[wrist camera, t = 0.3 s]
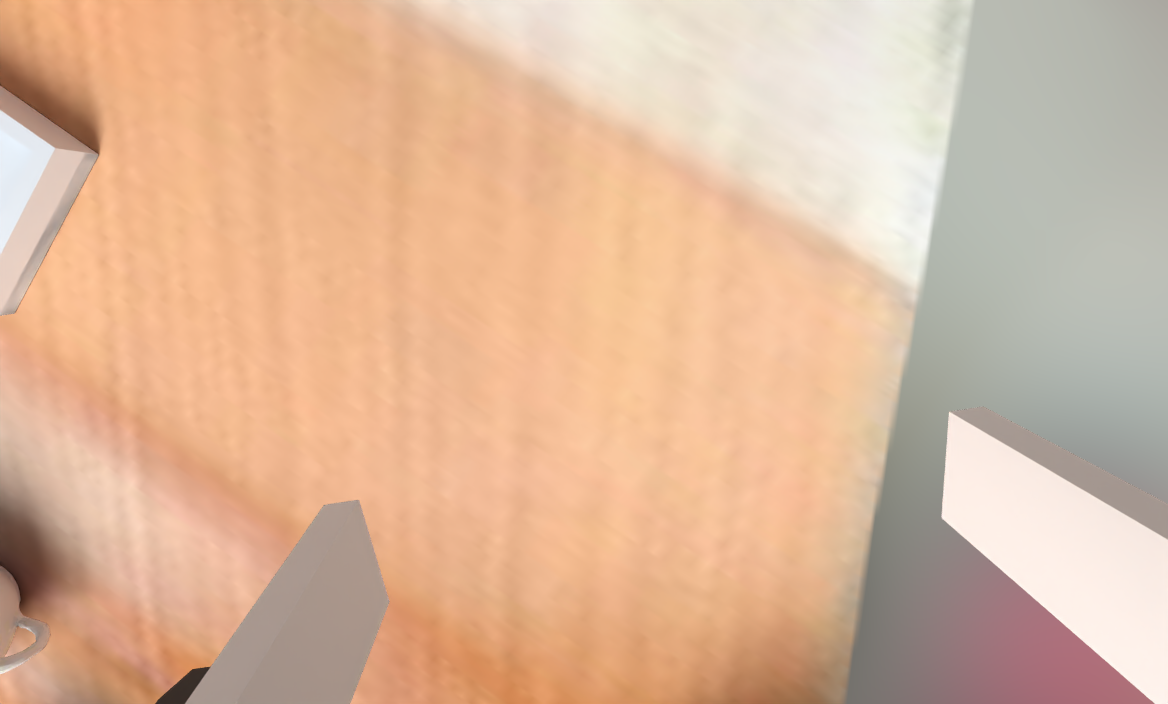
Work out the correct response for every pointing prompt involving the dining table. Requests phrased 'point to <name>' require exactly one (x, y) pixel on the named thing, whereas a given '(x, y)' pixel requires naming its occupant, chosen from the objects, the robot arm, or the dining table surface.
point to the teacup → (16, 624)
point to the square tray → (33, 191)
